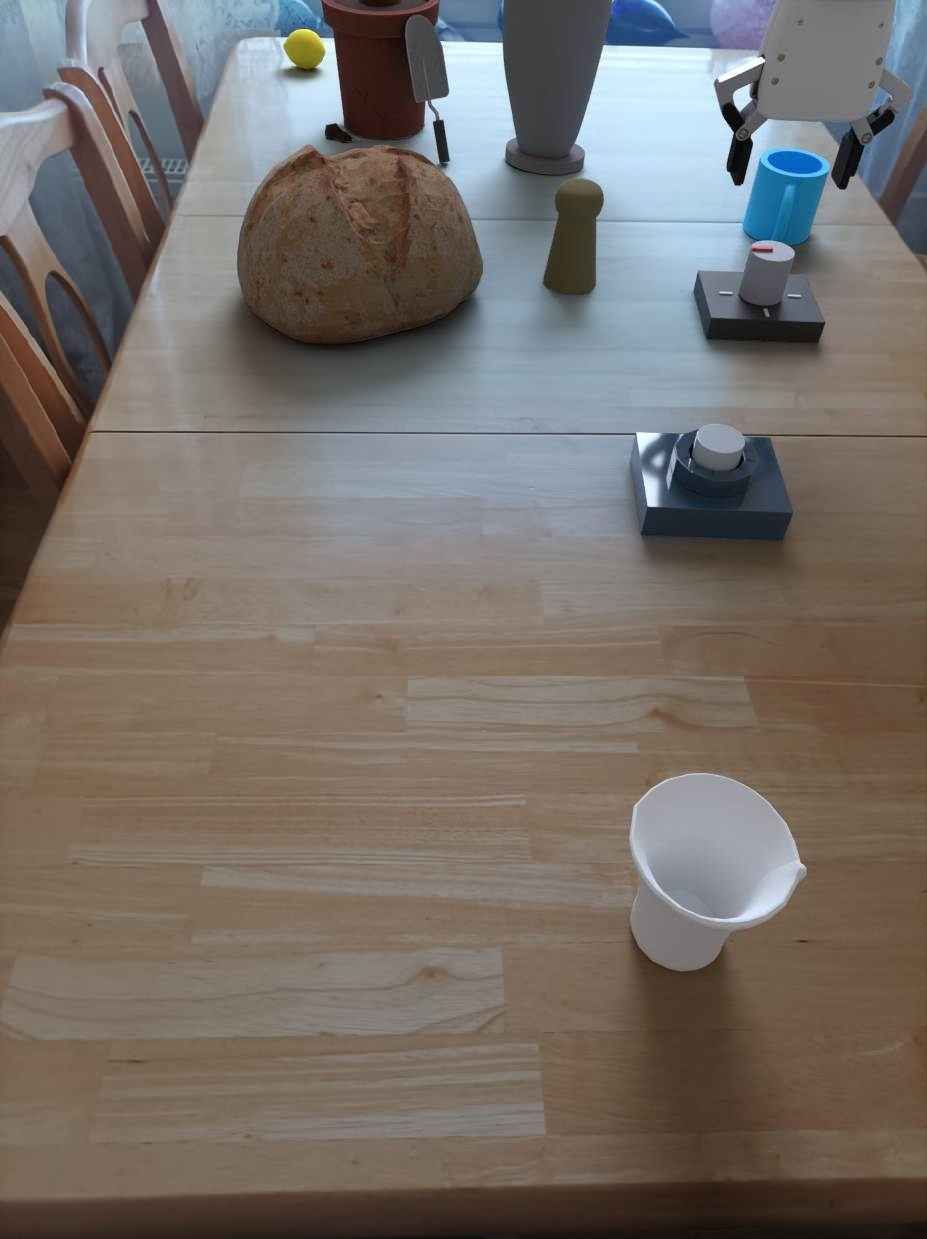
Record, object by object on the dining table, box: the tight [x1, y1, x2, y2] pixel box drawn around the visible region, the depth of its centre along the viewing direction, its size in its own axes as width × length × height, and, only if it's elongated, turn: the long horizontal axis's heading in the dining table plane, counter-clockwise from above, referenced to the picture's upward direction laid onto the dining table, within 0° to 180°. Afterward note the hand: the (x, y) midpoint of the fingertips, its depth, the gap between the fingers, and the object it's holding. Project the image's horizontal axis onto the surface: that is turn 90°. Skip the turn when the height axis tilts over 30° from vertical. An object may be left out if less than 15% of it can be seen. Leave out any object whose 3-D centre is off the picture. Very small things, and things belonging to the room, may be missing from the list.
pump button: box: [692, 423, 745, 472], centre depth 78 cm, size 4×4×2 cm
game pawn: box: [542, 177, 605, 296], centre depth 103 cm, size 6×6×11 cm
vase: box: [502, 0, 613, 176], centre depth 115 cm, size 13×13×35 cm
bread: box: [236, 143, 484, 345], centre depth 98 cm, size 26×23×15 cm
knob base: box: [693, 269, 827, 344], centre depth 102 cm, size 12×10×3 cm
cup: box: [628, 772, 808, 972], centre depth 52 cm, size 9×9×10 cm
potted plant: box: [320, 0, 451, 164], centre depth 124 cm, size 18×22×25 cm
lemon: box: [282, 28, 326, 70], centre depth 147 cm, size 7×5×5 cm
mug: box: [742, 147, 831, 246], centre depth 112 cm, size 12×8×8 cm
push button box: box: [629, 428, 794, 542], centre depth 80 cm, size 12×10×5 cm
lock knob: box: [739, 240, 796, 306], centre depth 99 cm, size 5×5×5 cm
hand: (786, 181), depth 88 cm, fingers open, 9 cm apart
